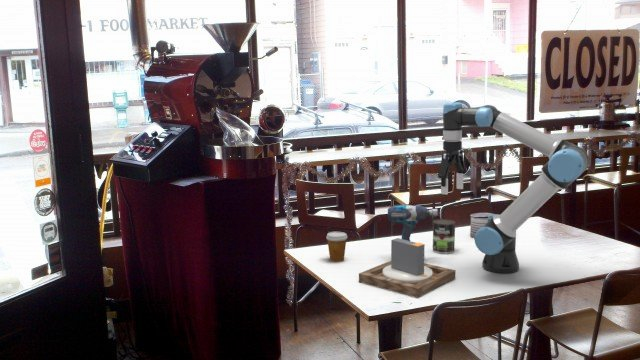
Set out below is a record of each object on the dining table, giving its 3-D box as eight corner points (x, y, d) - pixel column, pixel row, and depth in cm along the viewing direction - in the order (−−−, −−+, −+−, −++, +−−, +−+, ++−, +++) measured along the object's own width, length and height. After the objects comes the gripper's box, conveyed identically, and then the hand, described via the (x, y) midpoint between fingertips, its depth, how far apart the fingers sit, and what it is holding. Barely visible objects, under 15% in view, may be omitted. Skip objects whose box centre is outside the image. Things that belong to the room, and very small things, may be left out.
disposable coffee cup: (351, 259, 285) (351, 233, 283) (338, 264, 278) (337, 238, 276) (336, 255, 291) (335, 230, 289) (322, 260, 285) (321, 234, 282)
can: (478, 241, 311) (479, 217, 309) (465, 235, 322) (465, 212, 319) (497, 238, 316) (498, 214, 314) (483, 232, 326) (483, 210, 324)
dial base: (455, 278, 257) (455, 269, 257) (417, 297, 237) (417, 288, 236) (398, 265, 276) (398, 256, 275) (358, 281, 255) (358, 273, 255)
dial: (372, 275, 257) (372, 241, 254) (405, 264, 270) (405, 232, 267) (409, 287, 242) (410, 251, 239) (442, 275, 255) (443, 241, 252)
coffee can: (452, 255, 289) (453, 225, 287) (430, 252, 293) (430, 223, 291) (456, 248, 299) (457, 220, 296) (435, 246, 302) (435, 218, 300)
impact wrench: (437, 263, 278) (438, 207, 273) (386, 260, 282) (386, 206, 278) (438, 257, 285) (439, 203, 281) (388, 255, 290) (388, 202, 285)
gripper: (458, 137, 270) (457, 185, 273) (429, 143, 251) (429, 195, 254) (474, 137, 265) (474, 187, 269) (446, 144, 246) (446, 197, 250)
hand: (452, 191), depth 261 cm, fingers open, 13 cm apart
